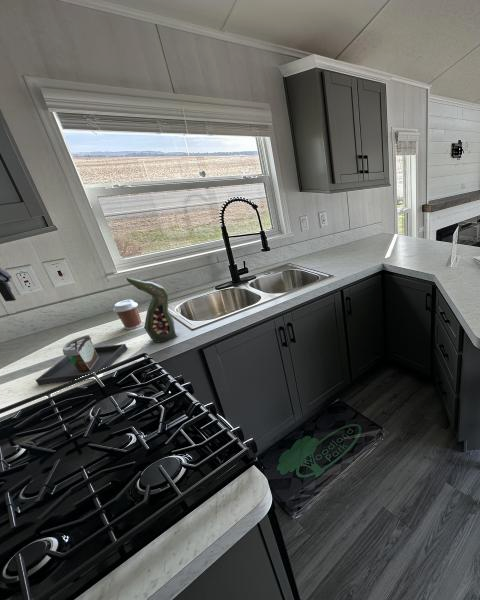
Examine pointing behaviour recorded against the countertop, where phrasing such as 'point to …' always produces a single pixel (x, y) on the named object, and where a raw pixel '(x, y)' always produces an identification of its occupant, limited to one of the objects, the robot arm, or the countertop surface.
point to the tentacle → (156, 311)
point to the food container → (81, 353)
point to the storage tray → (69, 372)
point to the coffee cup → (128, 313)
